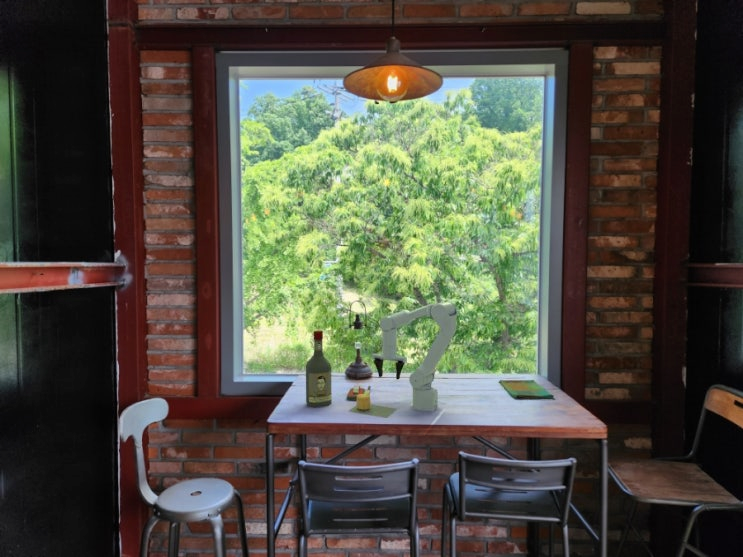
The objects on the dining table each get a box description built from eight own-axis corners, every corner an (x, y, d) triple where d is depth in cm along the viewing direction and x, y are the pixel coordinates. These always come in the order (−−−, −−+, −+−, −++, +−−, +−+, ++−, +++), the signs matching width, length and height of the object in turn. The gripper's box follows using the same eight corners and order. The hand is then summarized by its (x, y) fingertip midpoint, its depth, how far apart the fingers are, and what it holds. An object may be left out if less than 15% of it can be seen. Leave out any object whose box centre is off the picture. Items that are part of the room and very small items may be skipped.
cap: (372, 406, 168) (372, 394, 168) (366, 410, 164) (366, 398, 164) (360, 404, 171) (360, 392, 170) (354, 408, 166) (354, 396, 166)
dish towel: (513, 400, 180) (513, 394, 180) (497, 383, 204) (497, 378, 204) (555, 401, 180) (555, 395, 180) (534, 383, 204) (534, 378, 203)
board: (397, 411, 167) (397, 408, 167) (387, 420, 158) (387, 417, 158) (360, 405, 174) (359, 402, 173) (348, 413, 164) (348, 411, 164)
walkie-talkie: (367, 405, 174) (372, 389, 194) (366, 394, 174) (372, 379, 194) (345, 404, 175) (352, 389, 195) (345, 394, 175) (352, 379, 195)
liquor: (305, 402, 176) (304, 330, 174) (326, 400, 179) (326, 328, 177) (310, 410, 168) (309, 334, 166) (332, 407, 171) (332, 332, 169)
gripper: (369, 345, 176) (369, 378, 177) (402, 348, 170) (402, 382, 171) (376, 341, 182) (376, 373, 183) (408, 345, 176) (408, 377, 177)
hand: (389, 377), depth 177 cm, fingers open, 7 cm apart
